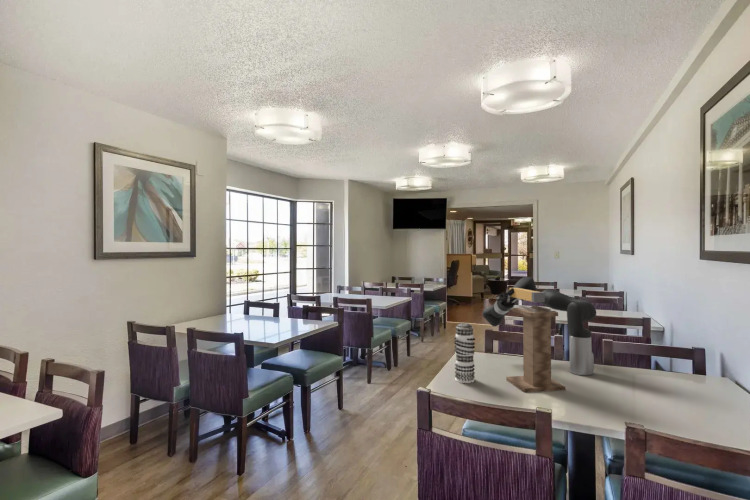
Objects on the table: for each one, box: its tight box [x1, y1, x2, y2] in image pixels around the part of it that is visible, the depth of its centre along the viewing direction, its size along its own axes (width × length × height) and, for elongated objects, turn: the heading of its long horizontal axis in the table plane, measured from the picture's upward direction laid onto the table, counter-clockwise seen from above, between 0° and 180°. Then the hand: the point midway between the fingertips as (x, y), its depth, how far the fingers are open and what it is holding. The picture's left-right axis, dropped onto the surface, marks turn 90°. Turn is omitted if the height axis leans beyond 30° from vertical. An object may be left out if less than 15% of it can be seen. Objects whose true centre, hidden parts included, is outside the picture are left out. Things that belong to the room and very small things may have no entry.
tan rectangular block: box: [509, 287, 545, 303], centre depth 183 cm, size 5×23×4 cm, turn 7°
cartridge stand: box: [505, 304, 566, 393], centre depth 176 cm, size 18×16×33 cm
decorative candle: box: [453, 322, 476, 384], centre depth 183 cm, size 9×9×25 cm
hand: (517, 290), depth 190 cm, fingers closed on tan rectangular block, 4 cm apart
